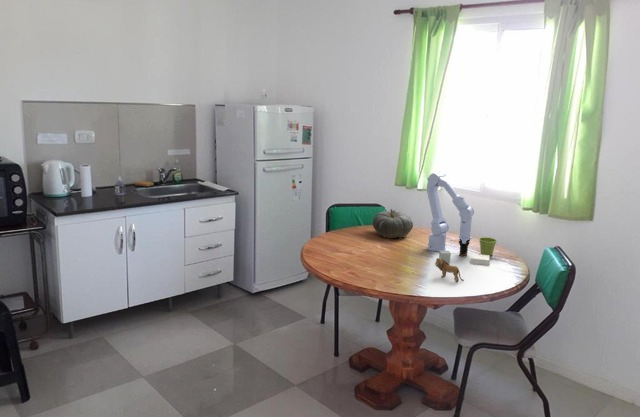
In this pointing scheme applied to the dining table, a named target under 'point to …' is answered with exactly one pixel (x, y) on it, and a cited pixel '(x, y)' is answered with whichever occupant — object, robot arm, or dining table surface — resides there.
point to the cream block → (480, 259)
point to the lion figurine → (447, 268)
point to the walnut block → (463, 254)
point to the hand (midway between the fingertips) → (463, 252)
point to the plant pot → (487, 245)
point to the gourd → (392, 224)
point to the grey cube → (445, 255)
